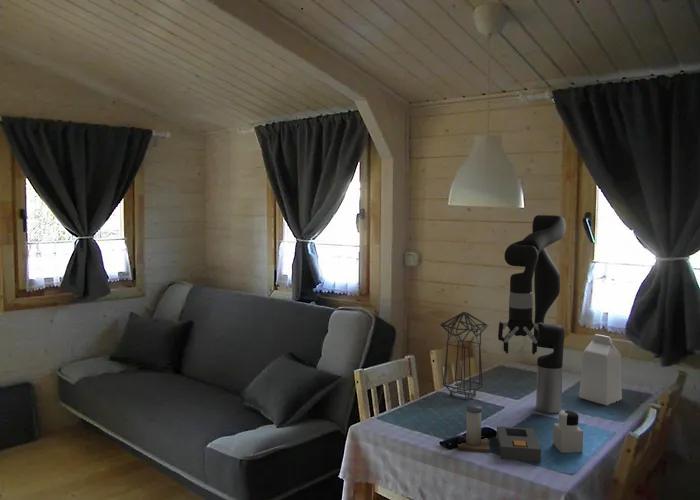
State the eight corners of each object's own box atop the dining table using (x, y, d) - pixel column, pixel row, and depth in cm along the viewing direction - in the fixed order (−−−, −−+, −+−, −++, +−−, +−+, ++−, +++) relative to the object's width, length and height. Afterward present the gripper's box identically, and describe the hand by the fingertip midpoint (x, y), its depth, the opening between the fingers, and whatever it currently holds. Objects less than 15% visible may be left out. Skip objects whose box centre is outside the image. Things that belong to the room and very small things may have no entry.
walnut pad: (457, 438, 202) (457, 435, 202) (487, 440, 200) (487, 437, 200) (458, 450, 192) (458, 447, 192) (489, 452, 190) (489, 449, 190)
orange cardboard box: (513, 452, 189) (513, 440, 189) (524, 453, 189) (525, 440, 188) (514, 457, 186) (514, 444, 185) (526, 458, 185) (526, 445, 185)
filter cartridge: (465, 438, 199) (465, 403, 198) (481, 439, 198) (481, 404, 197) (465, 444, 194) (466, 408, 193) (482, 445, 193) (482, 409, 192)
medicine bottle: (573, 443, 197) (574, 408, 196) (582, 452, 190) (584, 416, 189) (552, 444, 197) (553, 408, 196) (560, 453, 190) (562, 416, 189)
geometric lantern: (436, 396, 245) (437, 312, 243) (456, 388, 257) (458, 307, 255) (470, 404, 235) (471, 316, 233) (489, 395, 246) (491, 311, 244)
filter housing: (496, 437, 202) (496, 426, 202) (533, 440, 200) (533, 428, 200) (500, 459, 185) (501, 446, 185) (540, 461, 183) (541, 449, 183)
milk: (578, 397, 244) (580, 334, 242) (594, 392, 251) (596, 331, 249) (606, 405, 234) (608, 340, 232) (621, 399, 241) (624, 336, 239)
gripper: (541, 303, 199) (540, 350, 201) (497, 302, 201) (497, 349, 203) (544, 308, 191) (543, 357, 193) (499, 307, 194) (498, 355, 196)
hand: (520, 353), depth 198 cm, fingers open, 8 cm apart
